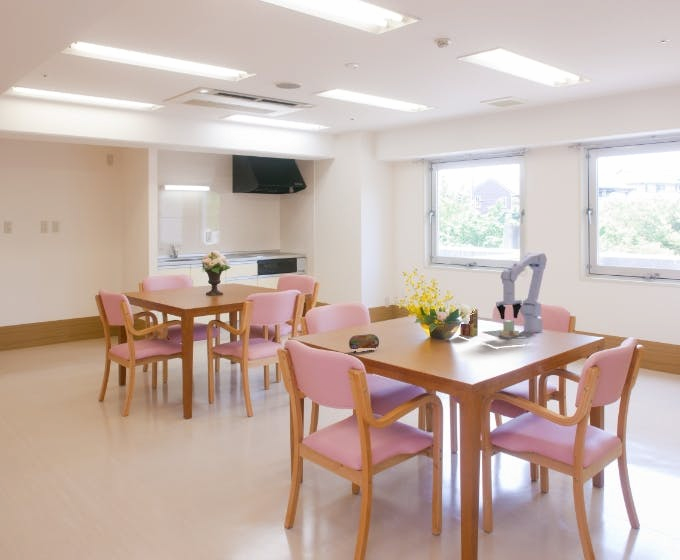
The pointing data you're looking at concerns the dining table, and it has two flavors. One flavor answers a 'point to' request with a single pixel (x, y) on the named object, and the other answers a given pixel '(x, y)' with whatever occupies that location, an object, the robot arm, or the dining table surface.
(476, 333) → the candy box
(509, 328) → the sage block
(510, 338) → the slate mat
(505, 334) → the cream base block
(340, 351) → the dining table surface
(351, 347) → the tin
